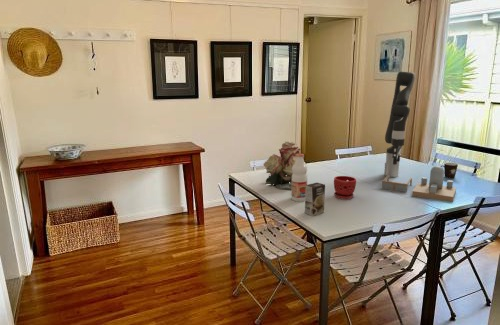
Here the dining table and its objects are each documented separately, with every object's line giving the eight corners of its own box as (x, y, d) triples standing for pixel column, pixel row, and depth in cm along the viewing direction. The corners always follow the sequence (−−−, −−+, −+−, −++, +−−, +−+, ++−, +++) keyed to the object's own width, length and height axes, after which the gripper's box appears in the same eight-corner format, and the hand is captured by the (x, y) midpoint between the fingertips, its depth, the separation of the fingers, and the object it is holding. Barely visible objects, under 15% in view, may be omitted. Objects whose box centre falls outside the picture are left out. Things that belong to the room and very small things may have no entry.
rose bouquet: (259, 185, 250) (258, 142, 243) (285, 176, 271) (285, 136, 264) (289, 193, 233) (290, 147, 226) (314, 183, 254) (315, 140, 247)
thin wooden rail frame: (381, 188, 240) (381, 180, 239) (387, 181, 254) (387, 174, 253) (406, 192, 232) (407, 184, 230) (411, 185, 246) (412, 177, 244)
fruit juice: (294, 195, 228) (295, 152, 222) (309, 198, 224) (310, 153, 217) (288, 200, 220) (289, 155, 214) (303, 202, 216) (304, 156, 209)
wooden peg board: (412, 195, 225) (414, 169, 221) (417, 186, 242) (420, 162, 238) (452, 201, 213) (455, 174, 209) (455, 191, 230) (458, 166, 226)
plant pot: (351, 201, 216) (352, 182, 213) (330, 198, 223) (331, 179, 220) (358, 195, 227) (359, 176, 224) (337, 192, 234) (338, 174, 231)
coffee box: (313, 216, 195) (313, 187, 191) (304, 213, 200) (305, 184, 196) (324, 212, 200) (325, 184, 196) (316, 209, 205) (316, 181, 201)
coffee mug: (455, 176, 264) (457, 162, 261) (456, 179, 256) (458, 165, 254) (437, 174, 269) (439, 161, 266) (438, 177, 261) (439, 164, 259)
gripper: (394, 135, 236) (392, 160, 240) (389, 138, 224) (387, 164, 228) (406, 136, 232) (404, 161, 236) (402, 139, 220) (400, 166, 224)
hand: (396, 162), depth 232 cm, fingers open, 8 cm apart
